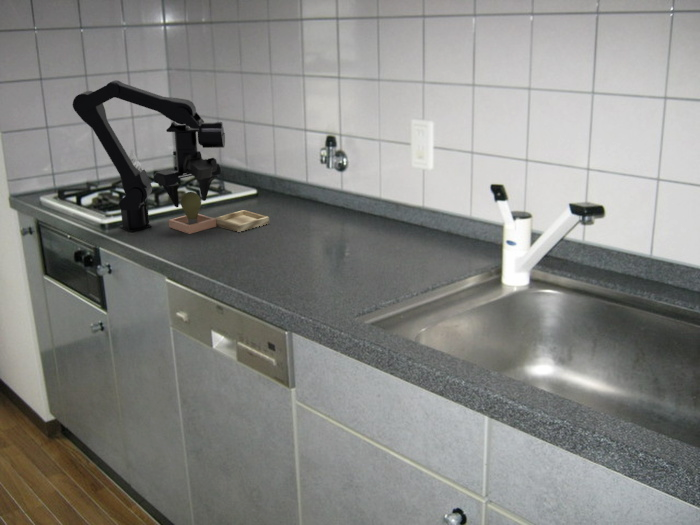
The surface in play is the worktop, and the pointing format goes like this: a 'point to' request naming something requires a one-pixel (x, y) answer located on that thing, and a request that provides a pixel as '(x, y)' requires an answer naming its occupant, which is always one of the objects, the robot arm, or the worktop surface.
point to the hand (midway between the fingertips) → (190, 203)
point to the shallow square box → (182, 224)
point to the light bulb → (191, 206)
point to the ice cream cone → (135, 161)
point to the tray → (241, 220)
